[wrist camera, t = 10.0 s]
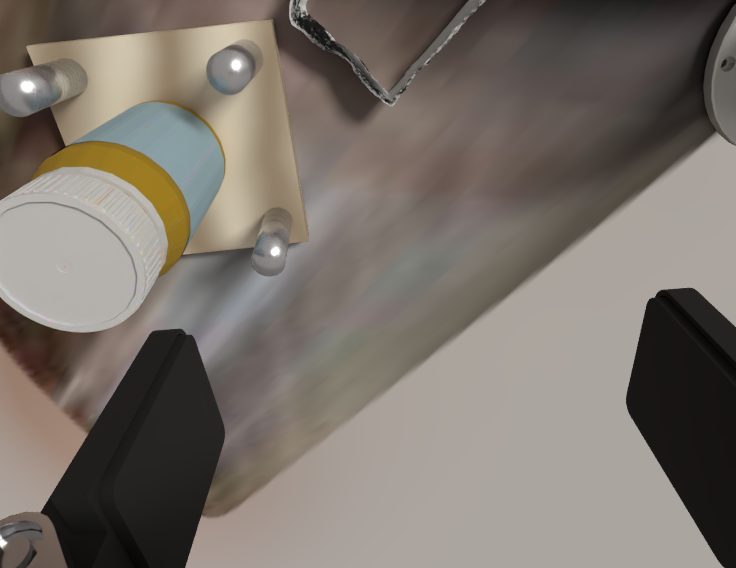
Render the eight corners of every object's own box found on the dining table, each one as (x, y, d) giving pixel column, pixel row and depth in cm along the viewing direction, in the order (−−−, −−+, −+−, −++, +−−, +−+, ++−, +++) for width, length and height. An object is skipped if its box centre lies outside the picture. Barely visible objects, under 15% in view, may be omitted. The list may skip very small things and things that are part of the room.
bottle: (162, 223, 35) (59, 365, 22) (90, 131, 31) (-82, 234, 18) (248, 177, 33) (194, 298, 20) (182, 76, 30) (66, 145, 17)
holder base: (273, 18, 30) (270, 20, 29) (308, 234, 37) (308, 241, 36) (36, 44, 30) (26, 46, 29) (118, 254, 37) (111, 262, 36)
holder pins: (259, 37, 29) (243, 48, 24) (294, 232, 36) (287, 274, 30) (45, 59, 29) (-17, 76, 24) (119, 251, 36) (82, 296, 30)
